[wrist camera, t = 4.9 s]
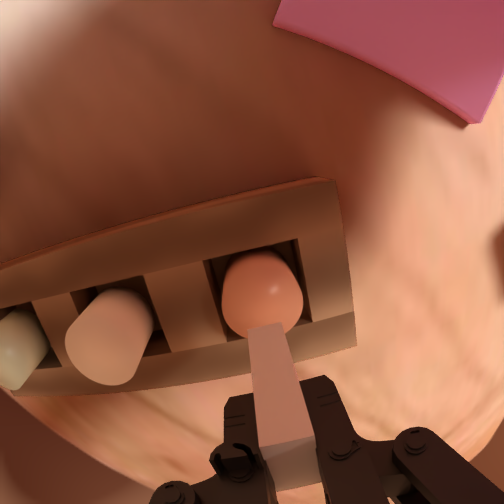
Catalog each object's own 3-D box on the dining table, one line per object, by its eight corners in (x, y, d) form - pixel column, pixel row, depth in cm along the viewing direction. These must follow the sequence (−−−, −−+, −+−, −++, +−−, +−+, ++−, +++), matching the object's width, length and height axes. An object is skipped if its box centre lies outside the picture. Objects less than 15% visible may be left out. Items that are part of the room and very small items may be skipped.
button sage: (0, 312, 21) (-32, 338, 16) (35, 304, 21) (2, 333, 16) (23, 359, 22) (-4, 389, 18) (59, 355, 22) (33, 390, 17)
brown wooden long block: (-12, 268, 24) (-42, 285, 19) (315, 176, 24) (335, 180, 19) (34, 369, 27) (14, 396, 22) (337, 315, 27) (357, 345, 22)
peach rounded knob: (84, 292, 21) (53, 324, 16) (141, 279, 21) (118, 312, 16) (108, 348, 22) (85, 387, 17) (163, 339, 22) (149, 381, 17)
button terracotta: (216, 253, 23) (212, 277, 18) (282, 237, 23) (295, 258, 18) (232, 312, 24) (233, 347, 19) (294, 298, 24) (308, 330, 19)
